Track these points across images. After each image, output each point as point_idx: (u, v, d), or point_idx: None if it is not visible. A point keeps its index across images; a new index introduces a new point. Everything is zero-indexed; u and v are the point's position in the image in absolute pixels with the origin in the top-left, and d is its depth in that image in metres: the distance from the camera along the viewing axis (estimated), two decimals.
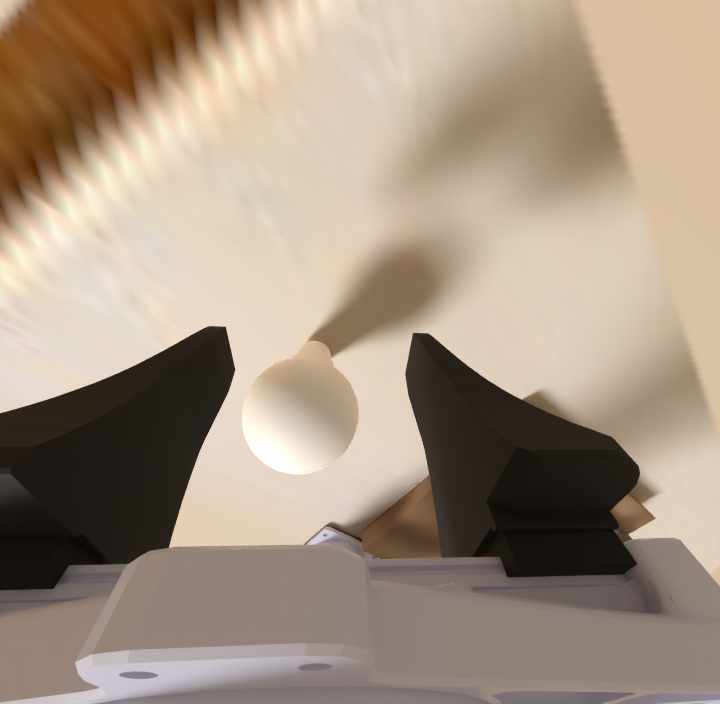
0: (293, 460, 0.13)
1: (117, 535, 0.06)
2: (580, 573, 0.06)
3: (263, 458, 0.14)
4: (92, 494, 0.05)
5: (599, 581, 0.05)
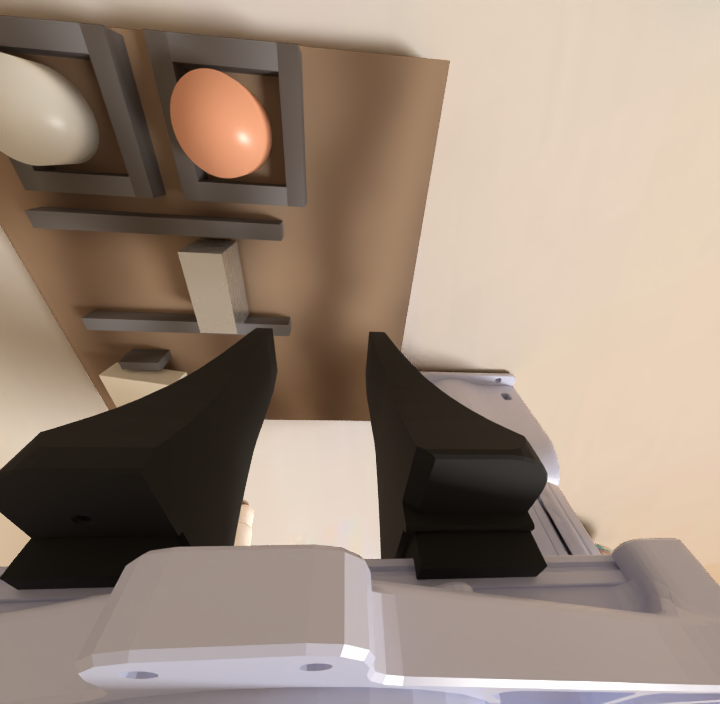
0: None
1: (203, 534, 0.06)
2: (492, 575, 0.05)
3: None
4: (189, 493, 0.05)
5: (599, 581, 0.05)
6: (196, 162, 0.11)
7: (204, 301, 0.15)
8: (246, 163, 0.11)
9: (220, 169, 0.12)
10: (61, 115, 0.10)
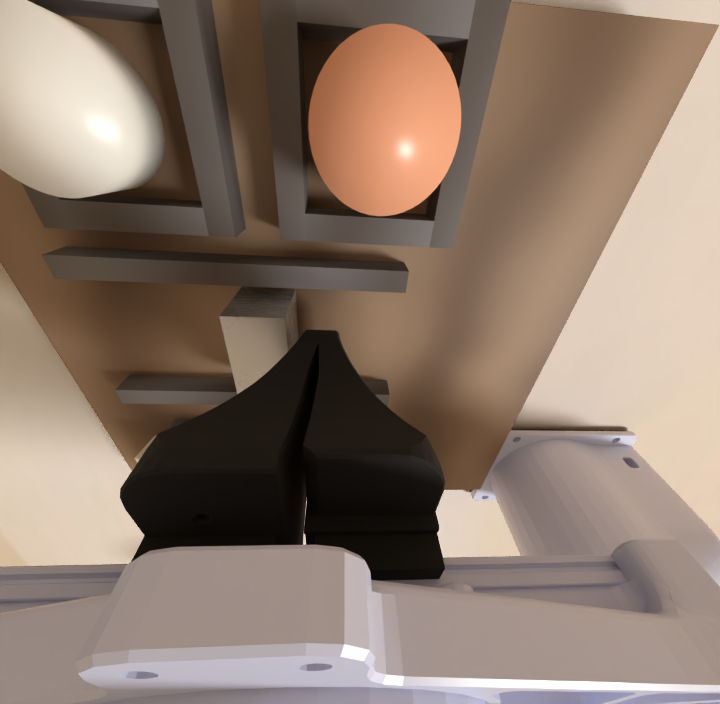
0: None
1: (293, 533, 0.06)
2: (394, 578, 0.05)
3: None
4: (289, 493, 0.06)
5: (599, 581, 0.05)
6: (335, 191, 0.07)
7: (252, 378, 0.11)
8: (417, 192, 0.07)
9: (372, 202, 0.07)
10: (116, 112, 0.06)
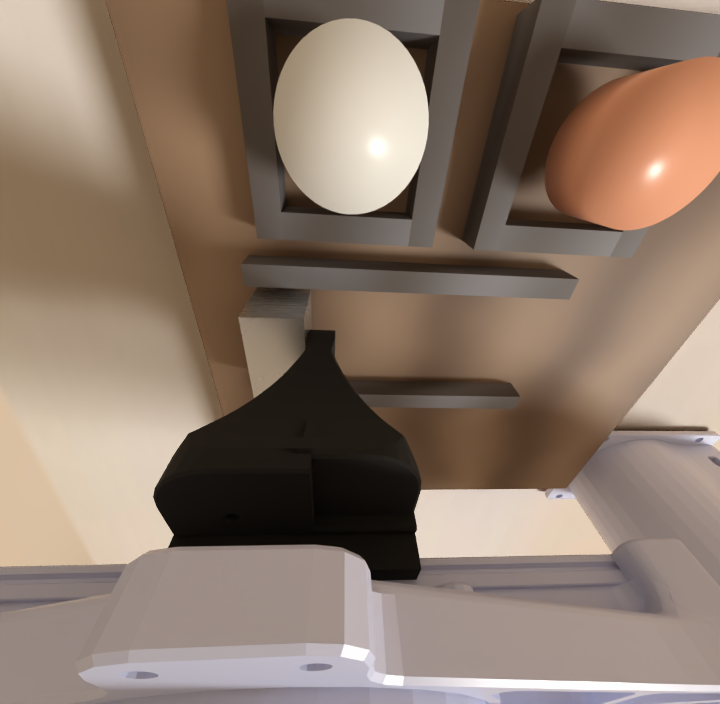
0: None
1: None
2: (370, 578, 0.05)
3: None
4: None
5: (599, 581, 0.05)
6: (593, 207, 0.07)
7: (268, 379, 0.11)
8: (667, 209, 0.07)
9: (623, 217, 0.07)
10: (426, 136, 0.06)
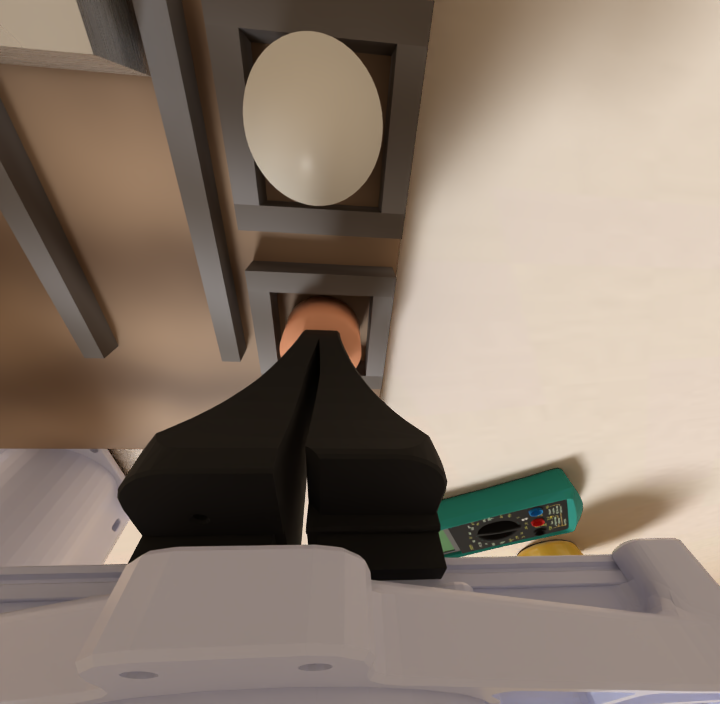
0: None
1: (291, 533, 0.06)
2: (395, 577, 0.05)
3: None
4: (287, 493, 0.06)
5: (599, 581, 0.05)
6: (290, 329, 0.11)
7: None
8: None
9: (286, 348, 0.11)
10: (316, 205, 0.08)
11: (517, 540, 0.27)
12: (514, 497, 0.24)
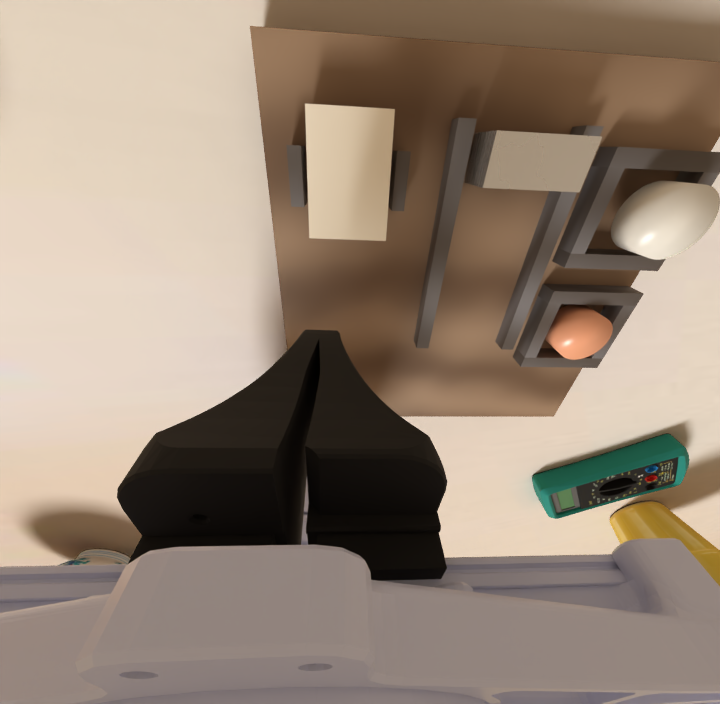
0: None
1: (291, 533, 0.06)
2: (395, 577, 0.05)
3: None
4: (287, 493, 0.06)
5: (599, 581, 0.05)
6: (575, 324, 0.18)
7: (536, 152, 0.12)
8: (562, 350, 0.19)
9: (566, 336, 0.18)
10: (655, 259, 0.14)
11: (629, 495, 0.33)
12: (632, 458, 0.31)
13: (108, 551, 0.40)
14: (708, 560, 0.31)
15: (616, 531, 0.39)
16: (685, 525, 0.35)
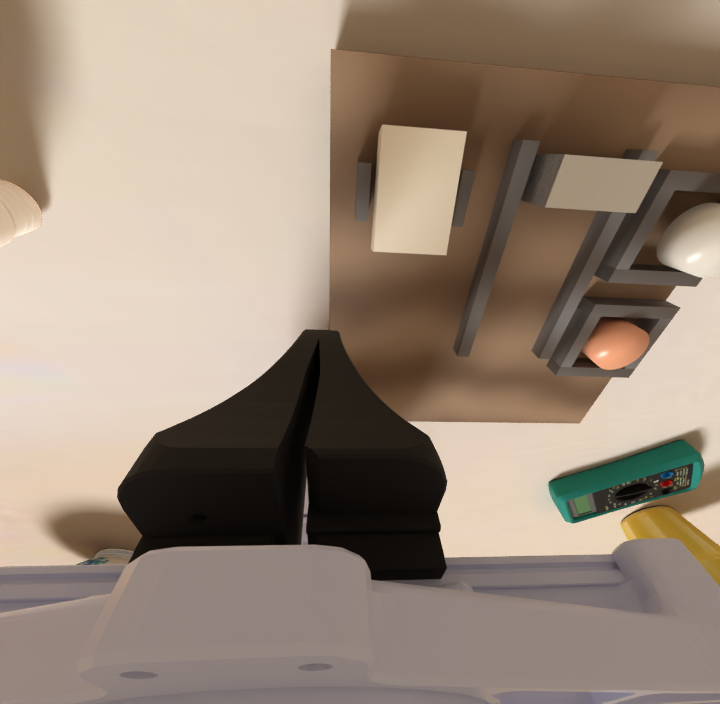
0: None
1: (291, 533, 0.06)
2: (395, 578, 0.05)
3: None
4: (287, 493, 0.06)
5: (599, 581, 0.05)
6: (614, 336, 0.19)
7: (599, 175, 0.13)
8: (599, 360, 0.20)
9: (604, 347, 0.19)
10: (701, 277, 0.15)
11: (645, 500, 0.34)
12: (647, 464, 0.31)
13: (125, 551, 0.40)
14: None
15: (628, 535, 0.40)
16: (697, 530, 0.36)
